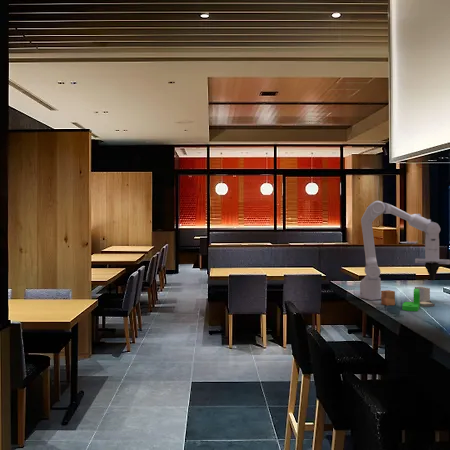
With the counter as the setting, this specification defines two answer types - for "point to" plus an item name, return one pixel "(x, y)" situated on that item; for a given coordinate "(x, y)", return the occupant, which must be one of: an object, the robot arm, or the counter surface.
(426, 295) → the block
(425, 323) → the counter surface
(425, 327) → the counter surface
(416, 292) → the mechanical part
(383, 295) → the terracotta block
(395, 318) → the counter surface
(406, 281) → the counter surface
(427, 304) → the pad
